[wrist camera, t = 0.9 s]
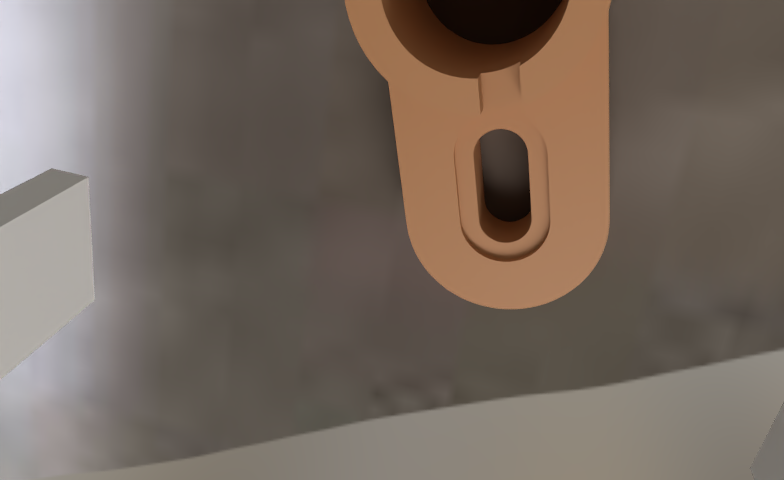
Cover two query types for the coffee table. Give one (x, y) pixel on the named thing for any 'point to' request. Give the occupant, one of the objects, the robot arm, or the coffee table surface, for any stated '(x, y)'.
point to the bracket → (488, 112)
